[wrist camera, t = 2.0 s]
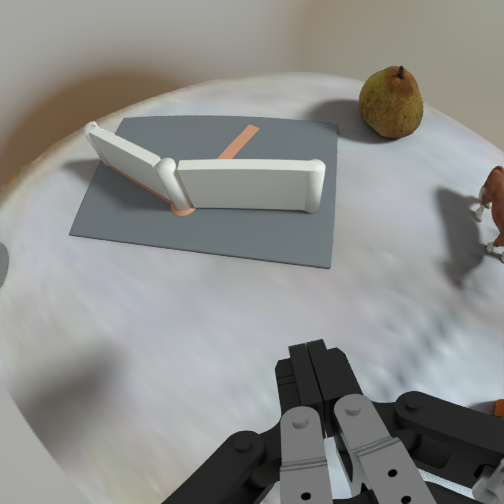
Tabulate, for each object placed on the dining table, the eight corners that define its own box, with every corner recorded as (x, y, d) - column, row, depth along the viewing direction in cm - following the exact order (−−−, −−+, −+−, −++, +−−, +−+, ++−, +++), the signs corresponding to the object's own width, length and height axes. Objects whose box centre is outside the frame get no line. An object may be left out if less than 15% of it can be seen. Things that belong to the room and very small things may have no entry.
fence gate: (193, 209, 36) (176, 172, 30) (196, 196, 37) (180, 158, 30) (319, 213, 35) (326, 174, 28) (319, 199, 35) (325, 159, 29)
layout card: (71, 235, 37) (69, 233, 37) (124, 119, 45) (123, 117, 45) (330, 268, 33) (330, 267, 32) (336, 126, 41) (337, 123, 40)
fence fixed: (196, 203, 37) (178, 162, 30) (185, 216, 37) (165, 176, 30) (113, 156, 42) (90, 120, 35) (104, 166, 42) (79, 130, 35)
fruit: (385, 98, 43) (400, 35, 32) (425, 137, 39) (452, 73, 28) (342, 113, 42) (352, 43, 31) (383, 156, 38) (407, 84, 27)
